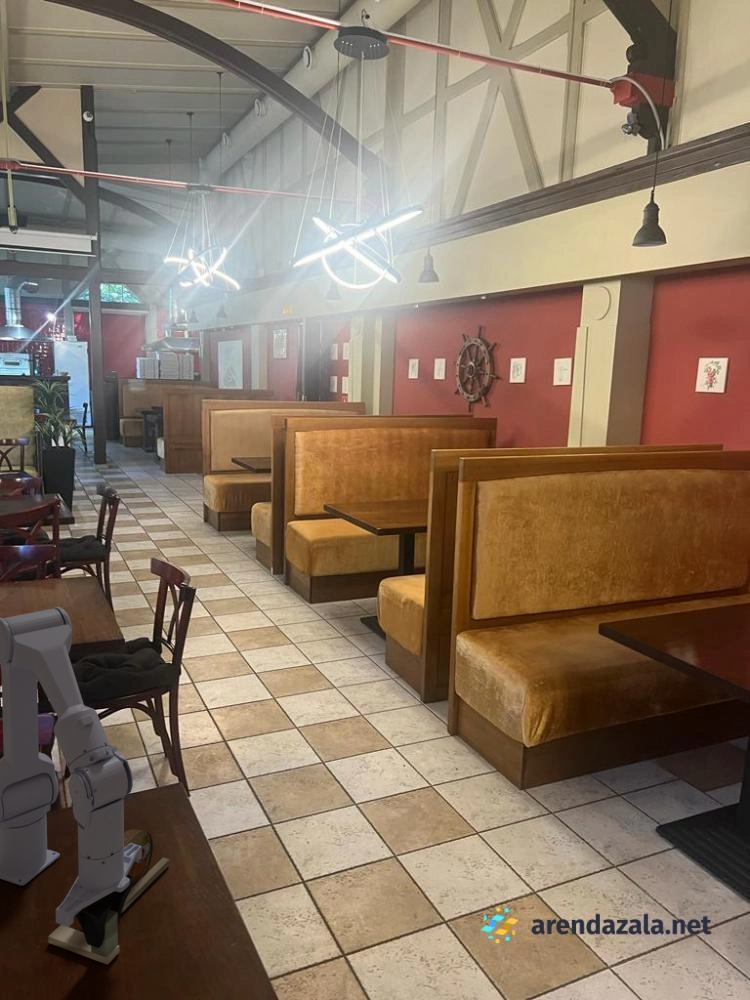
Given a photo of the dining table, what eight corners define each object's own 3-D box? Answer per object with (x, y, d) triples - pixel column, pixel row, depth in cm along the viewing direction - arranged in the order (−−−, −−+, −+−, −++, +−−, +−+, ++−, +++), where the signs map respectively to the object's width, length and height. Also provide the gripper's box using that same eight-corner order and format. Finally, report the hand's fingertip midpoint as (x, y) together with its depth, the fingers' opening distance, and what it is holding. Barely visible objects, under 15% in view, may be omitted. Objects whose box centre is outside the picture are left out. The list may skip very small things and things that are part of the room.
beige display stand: (48, 942, 100) (47, 903, 99) (141, 856, 119) (140, 822, 118) (107, 964, 97) (107, 924, 96) (193, 872, 115) (193, 838, 115)
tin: (94, 934, 102) (93, 880, 101) (75, 928, 103) (74, 875, 102) (154, 868, 116) (154, 820, 115) (138, 863, 117) (137, 816, 116)
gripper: (87, 888, 88) (88, 986, 90) (159, 823, 101) (159, 909, 103) (41, 873, 90) (43, 969, 92) (118, 811, 104) (118, 895, 106)
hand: (102, 936), depth 98 cm, fingers closed on beige display stand, 2 cm apart
